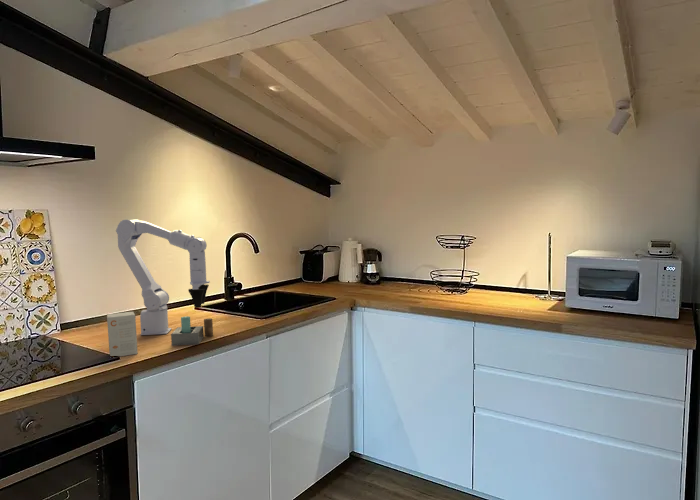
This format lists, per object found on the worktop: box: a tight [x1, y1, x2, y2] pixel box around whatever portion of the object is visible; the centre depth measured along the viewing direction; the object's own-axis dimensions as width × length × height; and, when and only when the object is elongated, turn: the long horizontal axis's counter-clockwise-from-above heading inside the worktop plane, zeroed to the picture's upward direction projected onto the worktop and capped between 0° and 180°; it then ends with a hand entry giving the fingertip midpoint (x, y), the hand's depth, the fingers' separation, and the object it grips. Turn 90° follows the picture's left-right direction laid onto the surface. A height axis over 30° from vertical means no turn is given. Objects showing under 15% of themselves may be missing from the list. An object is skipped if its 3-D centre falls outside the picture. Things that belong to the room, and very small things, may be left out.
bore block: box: [170, 325, 205, 347], centre depth 176 cm, size 9×10×4 cm
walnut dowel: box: [203, 317, 214, 337], centre depth 183 cm, size 3×3×6 cm
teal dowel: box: [180, 315, 192, 333], centre depth 173 cm, size 3×3×8 cm
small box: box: [106, 311, 139, 357], centre depth 161 cm, size 8×6×13 cm
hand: (199, 305), depth 189 cm, fingers open, 7 cm apart
